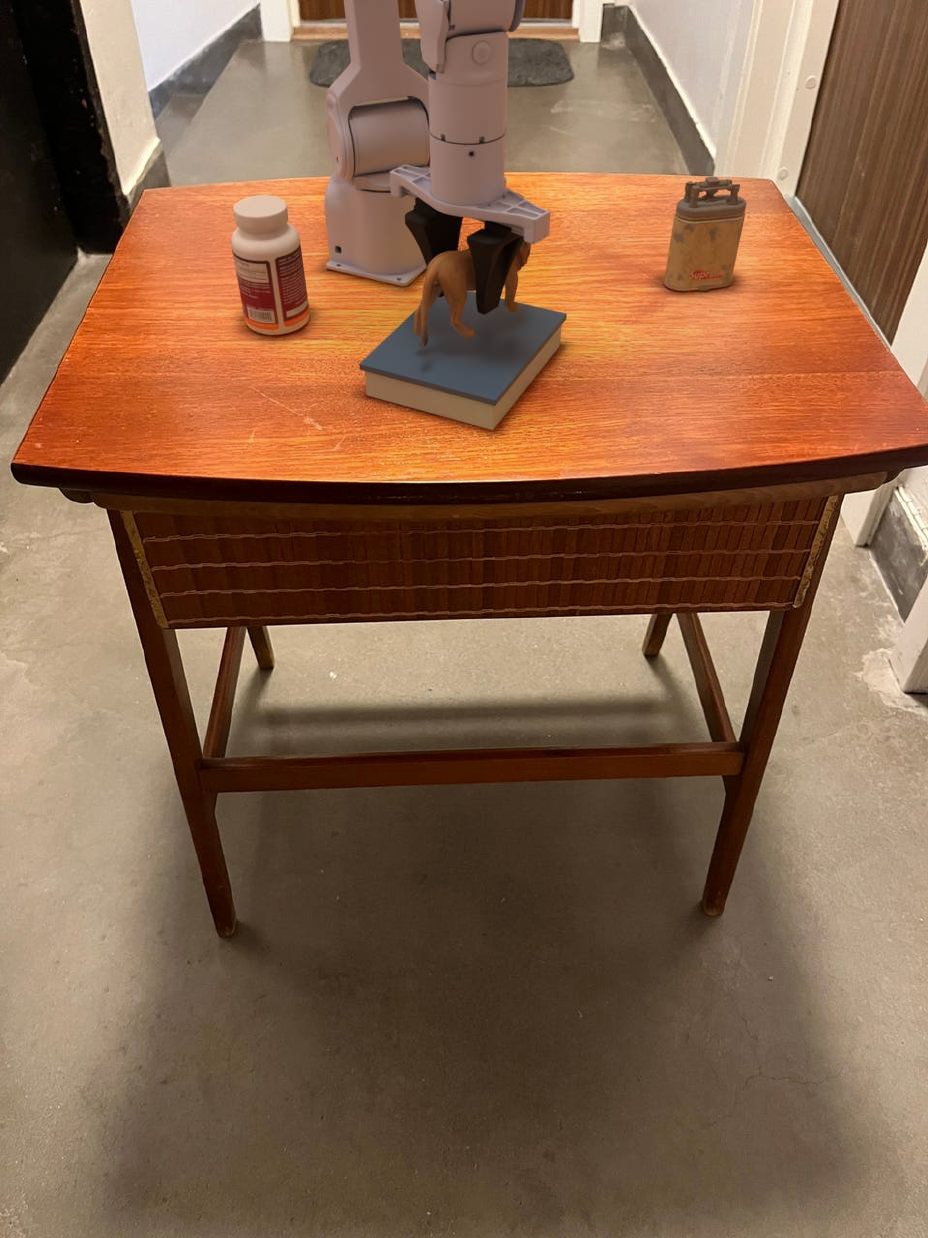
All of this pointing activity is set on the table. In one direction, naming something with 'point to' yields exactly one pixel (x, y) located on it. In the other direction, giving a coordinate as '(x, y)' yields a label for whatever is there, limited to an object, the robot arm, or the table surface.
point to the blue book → (464, 361)
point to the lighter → (705, 236)
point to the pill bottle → (269, 266)
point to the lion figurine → (460, 288)
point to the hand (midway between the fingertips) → (466, 300)
